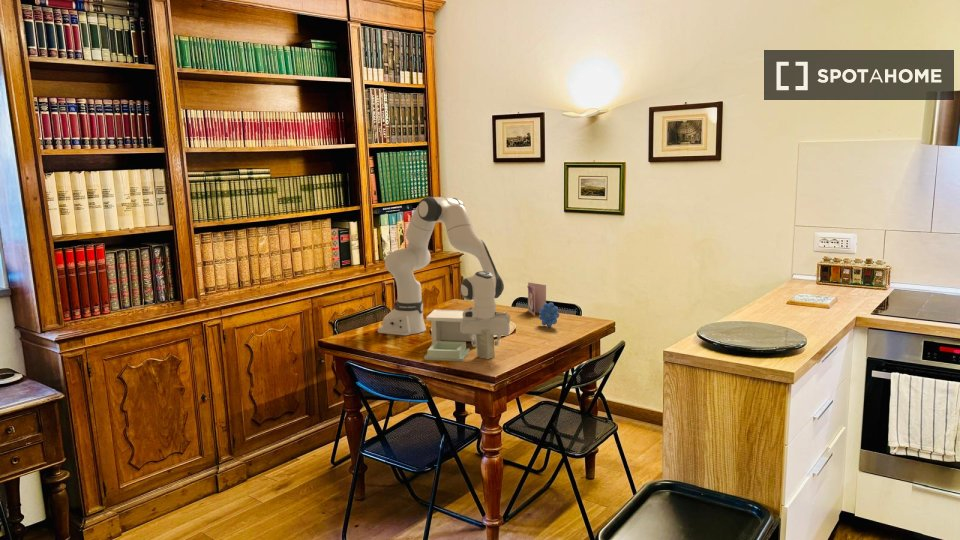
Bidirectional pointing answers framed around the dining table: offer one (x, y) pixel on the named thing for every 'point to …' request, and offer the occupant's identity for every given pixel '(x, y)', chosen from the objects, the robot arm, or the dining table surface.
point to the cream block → (447, 326)
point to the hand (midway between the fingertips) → (485, 344)
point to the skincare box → (485, 344)
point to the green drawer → (447, 351)
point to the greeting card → (536, 297)
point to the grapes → (548, 314)
